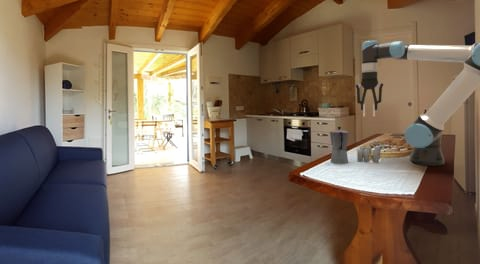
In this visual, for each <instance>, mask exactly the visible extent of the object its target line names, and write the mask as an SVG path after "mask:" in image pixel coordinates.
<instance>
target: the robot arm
mask: <svg viewBox="0 0 480 264" xmlns="http://www.w3.org/2000/svg"><path fill="white" fill-rule="evenodd" d="M361 45H362V46H361V47H362V48H361V72H362V73H361V80H360V81H361V82H360V83H359V84H355V87H356V101H357V104H360V111H362V117H364V118H365V117H366V103H365V100H366V96H367V93H368V91H369V90H370V91H371V92H372V98H373V101H374V103H372V117H375V118H376V111H377V110H378V104H379V103H380V104H381V102H382V100H383V99H382V95H383V87H384V83H382V82H379V80H378V70H379V69H378V68H379V67H378V66H379V64H378V63H379V60H383V59H392V60H394V59H395V60H406V61H407V60H409V61H427V62H428V61H429V62H431V61H432V62H448V63H463V70H461V71H460V73H459V74H458V75H457V76H456V78H455V79H454V80H453V81H452V82H451V83H450V84H449V85H448V86H447V88H446V89H445V91H444V92H442V94H441V95H440V96H439V98H438V99H436V101H435V102H434V103H433V105H432V106H431V107H430V108H429V109H428V110H427V112H425V113H422V114H419V116H417V117H416V118H415V119H414V122H413V123H412V124H410V125H408V126H407V127H406V129H405V131H404V140H405V142H406V143H407V144H408V145H409V146H411V147H413V148H412V151H411V153H410V155H409V161H410V162H411V163H413V165H414V164H415V165H420V166H429V167H430V166H431V167H432V166H433V167H437V166H443V165H445V157H444V154H443V152H442V132H443V131H444V130H445V126H444V124H445V123H446V122H447V121H448V120H449V119H450V118H451V117H452V116H453V115H454V113H455V112H456V111H457V110H458V109H459V108H460V107H461V106H462V105H463V104H464V103H465V102H466V100H467V99H468V98H469V97H470V96H471V95H472V94H473V93H474V91H476V90H477V88H478V87H479V86H480V42H479V43H478V42H477V43H473V44H472V45H462V44H461V45H459V44H457V45H455V44H454V45H451V44H450V45H446V44H444V45H443V44H405V43H404V41H402V40H401V41H400V40H398V41H397V40H395V41H391V42H390V41H389V42H384V43H379V42H378V40H374V39H373V40H366V41H363V42H362V44H361ZM361 86H362V87H361ZM377 86H378V98H377V93H376V89H375V88H376V87H377ZM361 88H363V92H362V96H361Z"/></svg>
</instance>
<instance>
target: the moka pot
mask: <svg viewBox="0 0 480 264" xmlns="http://www.w3.org/2000/svg"><path fill="white" fill-rule="evenodd" d="M329 134H330V135H329V136H330V143H331V147H332V150H331V157H330V162H331V164H335V165H337V164H338V165H345V164H348V163H349V159H348V151H347V146H348V142H349V141H348V139H349V131H347V130H343V129H342V127H341V126H338V127H337V129H335V130H332V131H329Z"/></svg>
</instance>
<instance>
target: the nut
mask: <svg viewBox="0 0 480 264" xmlns="http://www.w3.org/2000/svg"><path fill="white" fill-rule="evenodd" d="M363 159H364V153H363ZM369 161H373V152H371V153H369Z"/></svg>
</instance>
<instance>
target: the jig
mask: <svg viewBox="0 0 480 264" xmlns="http://www.w3.org/2000/svg"><path fill="white" fill-rule="evenodd" d="M356 153H357V154H356V155H357V157H356V158H357V159H356V162H359V163H371V164H373V163H374V164H380V163H381V161H382V157H381V147H380V146H375V147H374V150H373V151H372V146H363V145H361V146H359V149H357V152H356ZM363 153H364V159H363ZM369 153H372V154H373V161H369Z"/></svg>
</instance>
